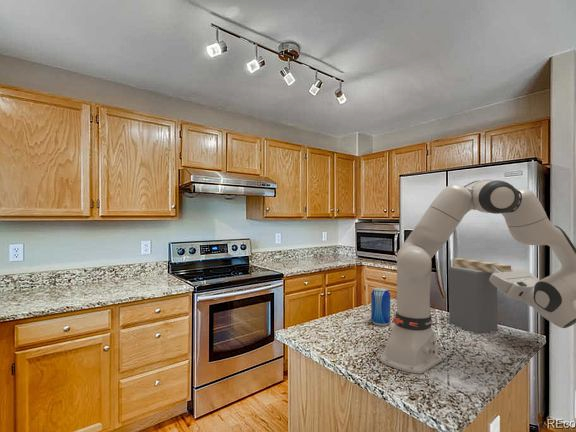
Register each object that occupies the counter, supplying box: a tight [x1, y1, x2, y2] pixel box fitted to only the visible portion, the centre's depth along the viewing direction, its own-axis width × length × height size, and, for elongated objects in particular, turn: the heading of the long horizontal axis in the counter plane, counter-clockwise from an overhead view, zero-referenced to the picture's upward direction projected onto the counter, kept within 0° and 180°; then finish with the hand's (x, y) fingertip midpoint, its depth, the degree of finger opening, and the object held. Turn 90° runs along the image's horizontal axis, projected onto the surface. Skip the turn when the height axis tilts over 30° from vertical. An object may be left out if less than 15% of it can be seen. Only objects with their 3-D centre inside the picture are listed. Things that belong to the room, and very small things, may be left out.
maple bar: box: [452, 257, 512, 273], centre depth 133 cm, size 24×4×4 cm, turn 20°
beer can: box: [370, 286, 391, 327], centre depth 141 cm, size 8×8×16 cm
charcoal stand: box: [448, 266, 499, 335], centre depth 136 cm, size 14×12×26 cm
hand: (497, 267), depth 126 cm, fingers open, 4 cm apart
